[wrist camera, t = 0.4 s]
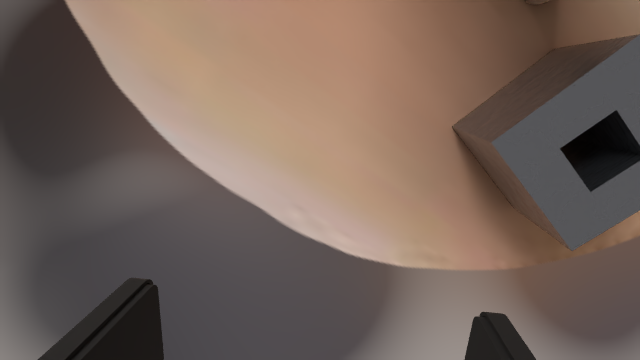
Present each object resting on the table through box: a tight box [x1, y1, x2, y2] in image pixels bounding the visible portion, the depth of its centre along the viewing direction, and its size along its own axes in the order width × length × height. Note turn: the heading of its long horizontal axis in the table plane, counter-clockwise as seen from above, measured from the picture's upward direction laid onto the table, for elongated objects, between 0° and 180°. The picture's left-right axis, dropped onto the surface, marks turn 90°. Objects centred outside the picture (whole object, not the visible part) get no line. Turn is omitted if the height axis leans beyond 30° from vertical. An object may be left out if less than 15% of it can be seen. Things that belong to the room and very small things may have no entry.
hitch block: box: [452, 34, 640, 251], centre depth 31 cm, size 12×12×10 cm
